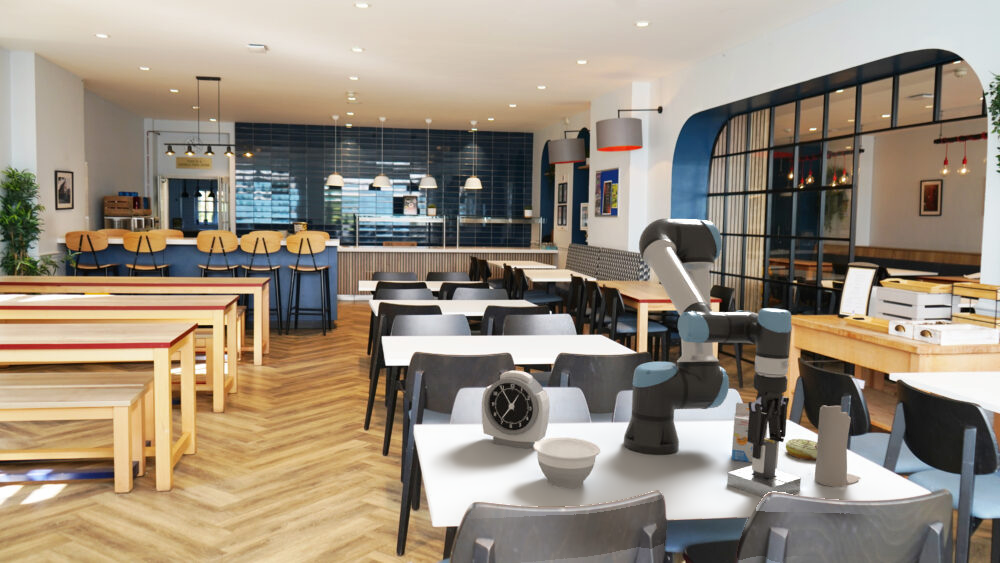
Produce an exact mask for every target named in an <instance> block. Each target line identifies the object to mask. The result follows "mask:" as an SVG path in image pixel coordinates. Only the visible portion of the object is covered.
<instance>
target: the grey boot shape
mask: <svg viewBox="0 0 1000 563" xmlns="http://www.w3.org/2000/svg"><path fill="white" fill-rule="evenodd" d="M819 408H820V409H819V416H818V428H817V430H818V431H817V441H816V442H817V458H816V460H815V467H814V468H815V470H814V481H815V482H816V483H818V484H821V485H822V486H823V485H824V486H828V487H834V488H836V487H837V488H838V487H840V488H841V487H845V486H849V485H852V484H855V483H858V482H859V479H861V477H860V476H858V475H854V474H851V473H848V456H847V455H848V452H847V451H848V450H847V449H848V448H847V447H848V438H849V433H850V427H851V426H850V425H851V419H852V418H851V416H849V413H848V412H846V411H842V406H841V405H830V406H828V405H825V404H824V405H821V407H819Z"/></svg>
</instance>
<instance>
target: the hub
mask: <svg viewBox="0 0 1000 563" xmlns="http://www.w3.org/2000/svg"><path fill="white" fill-rule="evenodd" d="M801 478H802V477H799V476H797V475H793V474H789V473H786V472H783V471H779V470H777V469H775V477H774V478H771V479H768V480H766V479H763V478H760V477H757V476H754V475H753V470H752V464H751V465H748V466H745V467H741V468H739V469H735V470H731V471H728V472H727V480H726V481H727V483H726V484H727V485H728V486H730V487H734V488H735V489H740V490H741V491H744V492H747V493H750V494H753V495H756V496H759V497H761V498H764V497H763V496H764V495H765V494H767V493H768V492H772V491H777V492H786V493H790V494H792V493H795V492H798V491H800V490H801V480H802V479H801Z"/></svg>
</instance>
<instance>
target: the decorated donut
mask: <svg viewBox="0 0 1000 563" xmlns="http://www.w3.org/2000/svg"><path fill="white" fill-rule="evenodd" d="M785 449H786V451H787V453H788V454H789V455H790V456H792V457H795V458H798V459H802V460H808V461H809V460H812V461H814V460H815V461H816V458H817V441H814V440H809V439H803V438H793V439H789V440H788V441H787V442H785Z"/></svg>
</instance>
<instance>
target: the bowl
mask: <svg viewBox="0 0 1000 563" xmlns="http://www.w3.org/2000/svg"><path fill="white" fill-rule="evenodd" d="M532 448H533V449H534V450H535V451H536V452H537V462H538V465H539V468H540V469H541V473H542V474H543V476H544V477H545V478H546V481H547V484H548V485H551V486H552V487H556V488H559V489H576V488H580V487H582V486H583V485H584V483H585V482H584V481H586V479H587V478H588V477H589V476H590V474H591V472H592V470H593V469H594V466H595V463H596V456H598V455H599V454H600V453H601V448H600V447H599V446H598V445H597V444H595V443H593V442H591V441H588V440H584V439H579V438H572V437H549V438H542V439H541V440H540V441H537V442H535V444H534V445H533V447H532Z"/></svg>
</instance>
